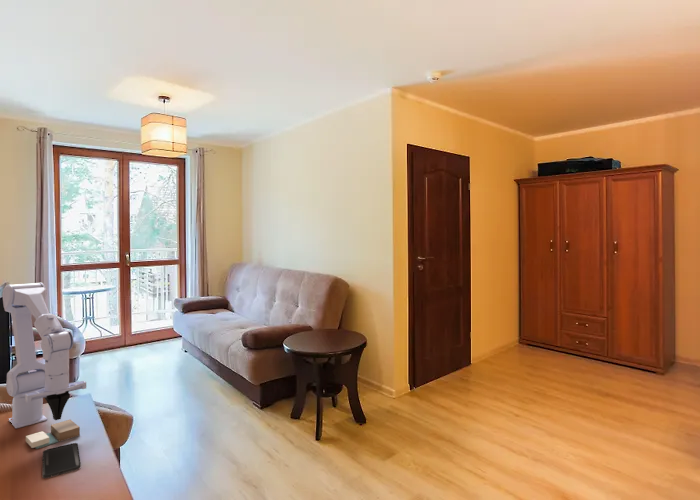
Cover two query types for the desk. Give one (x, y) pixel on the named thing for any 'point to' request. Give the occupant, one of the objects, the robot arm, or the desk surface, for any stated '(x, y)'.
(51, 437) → the mat
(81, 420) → the desk surface
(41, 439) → the cream rectangular block
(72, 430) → the block
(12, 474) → the desk surface
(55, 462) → the phone
